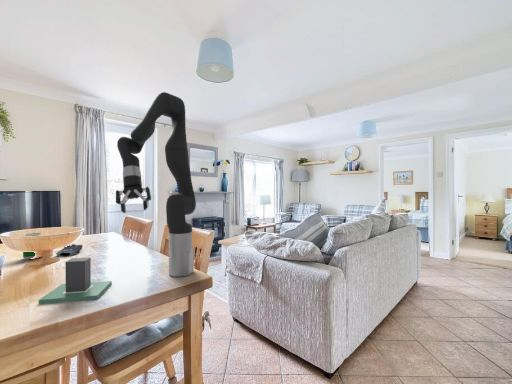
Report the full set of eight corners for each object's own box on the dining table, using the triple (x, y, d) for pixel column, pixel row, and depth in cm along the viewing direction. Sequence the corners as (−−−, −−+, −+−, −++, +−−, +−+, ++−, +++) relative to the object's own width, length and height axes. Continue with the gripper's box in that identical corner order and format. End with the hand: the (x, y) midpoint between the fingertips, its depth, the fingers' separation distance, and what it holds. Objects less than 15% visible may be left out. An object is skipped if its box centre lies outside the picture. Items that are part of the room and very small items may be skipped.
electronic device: (61, 254, 133) (53, 257, 120) (63, 243, 134) (55, 245, 121) (81, 254, 137) (76, 257, 124) (83, 244, 138) (78, 246, 125)
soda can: (42, 258, 118) (42, 234, 118) (21, 261, 114) (21, 236, 114) (44, 255, 124) (44, 232, 124) (24, 257, 120) (24, 233, 120)
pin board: (111, 284, 88) (111, 274, 88) (97, 299, 76) (97, 287, 76) (61, 287, 85) (61, 277, 85) (38, 303, 73) (38, 291, 73)
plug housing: (90, 286, 83) (90, 257, 83) (85, 291, 79) (84, 260, 79) (72, 287, 82) (72, 258, 82) (65, 292, 78) (65, 261, 78)
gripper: (112, 176, 106) (114, 211, 102) (147, 172, 110) (150, 207, 106) (118, 181, 113) (120, 215, 109) (150, 178, 117) (153, 210, 113)
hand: (134, 211), depth 108 cm, fingers open, 8 cm apart
